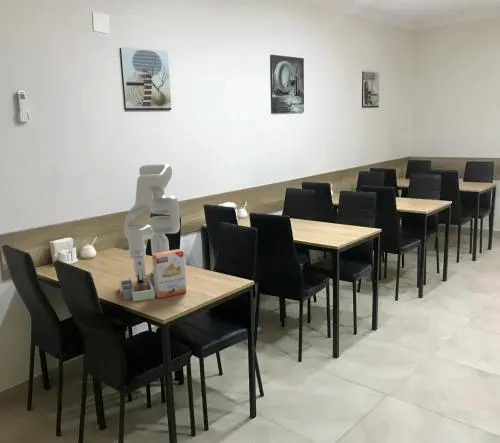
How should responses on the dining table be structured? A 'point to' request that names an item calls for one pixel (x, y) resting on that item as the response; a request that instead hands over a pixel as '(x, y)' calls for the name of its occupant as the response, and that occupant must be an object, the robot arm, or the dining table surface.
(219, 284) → the dining table surface
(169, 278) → the cracker box
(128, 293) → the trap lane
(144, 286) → the walnut block
